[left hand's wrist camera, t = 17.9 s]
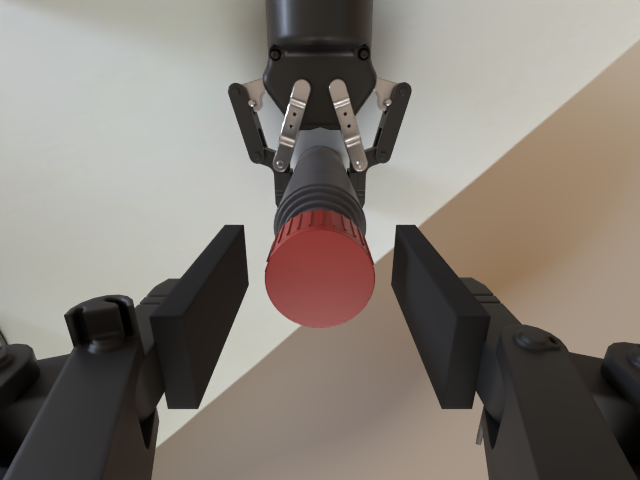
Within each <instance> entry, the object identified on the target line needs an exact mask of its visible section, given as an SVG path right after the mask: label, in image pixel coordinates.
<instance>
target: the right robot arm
mask: <svg viewBox="0 0 640 480" xmlns="http://www.w3.org/2000/svg"><path fill="white" fill-rule="evenodd" d="M372 11H373V0H266V17H267V36H268V64H267V67H266V70H265V72H264V74H263V78H262V79H259V80H255V81H252V82H249V83H245V84H238V83H233V84H231V85H230V86H229V88H228V94H229V97H230V100H231V103H232V106H233V109H234V112H235V115H236V118H237V121H238V124H239V127H240V130H241V133H242V136H243V139H244V142H245V145H246V148H247V151H248V154H249V157H250V159H251V161H252V162H254V163H256V164H262V165H265V166H268V167H270V168H271V169H272V170H273V172H274V181H275V200H276V205H277V207H279V205H280V202H281V200H282V198H283V195H284V193H285V191H286V188H287V186H288V184H289V181H290V179H291V177H292V174H293V168H291V169H290V161H291V158H292V155H293V151H294V148H295V145H296V142H297V139H298V136H299V132H300V130H312V129H315V128H319V127H322V128H325V129H329V130H340V132H341V135H342V138H343V141H344V144H345V147H346V150H347V153H348V156H349V159H350V168H347V175H348V177H349V179H350V182H351V184H352V186H353V189H354V191H355V193H356V196H357V198H358V200H359V203H360V205H361V207H362V208H363V205H364V203H365V180H366V172H367V170H368V169H369V168H370V167H371V166H374V165H376V164H379V163H386V162H388V161H389V159H390V157H391V154H392V151H393V148H394V145H395V142H396V139H397V135H398V132H399V129H400V126H401V123H402V120H403V117H404V114H405V111H406V108H407V104H408V101H409V98H410V95H411V86H410V85H409V84H408V83H405V82H403V83H394V82H391V81H387V80H384V79H380V78H377V76H376V72H375V70H374V68H373V65H372V62H371V35H372ZM372 91H373V92H375V93H376V95H377V98H378V100H377V106H378V108H379V109H380V110H382V111H383V113H382V117H381V120H380V123H379V127H378V130H377V133H376V137H375V140H374V143H373V147H371V148H369V149H366V150H364V148H363V145H362V141H361V136H360V133H359V129H358V126H357V123H356V119H355V115H356V114H357V113H358V111H359V110H360V108H361V107H362V106H363V104H364V103H365V101H366V100H367V98H368V97H369V96H370V94H371V93H372ZM266 92H267V93H268V94H269V95H270V97H271V98H272V99H273V101H274V102H275V104H276V105H277V106H278V108H279V109H280V111H281V112H282V113H283V115H284V116H285V120H284V123H283V127H282V130H281V134H280V137H279V143H278V146H277V150H276V151H275V150H273V149H270V148H268V146H267V143H266V140H265V137H264V134H263V131H262V127H261V124H260V121H259V118H258V115H257V111H259V110H261V108H262V106H263V102H262V97H263V95H264V94H265V93H266Z"/></svg>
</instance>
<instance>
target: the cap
mask: <svg viewBox="0 0 640 480" xmlns="http://www.w3.org/2000/svg"><path fill="white" fill-rule="evenodd" d="M267 262H268V264H267V266H266V269H265V285H266V290H267V293H268V296H269V298H270V300H271V302H272V303H273V305H274V306H275V307H276V309H277V310H278V311H279V312H280V313H281V314H282V315H284V316H285V317H287V318H288V319H290V320H291V321H293V322H295V323H298V324H300V325H304V326H308V327H316V328H325V327H332V326H336V325H339V324H342V323H344V322H347V321H348V320H350V319H352V318H353V317H355V316H356V315H357V314H358V313H360V312H361V311H362V310H363V308H364V307H365V306H366V305H367V303H368V301H369V300H370V298H371V295H372V293H373V289H374V284H375V273H374V267H373V265H374V262H373V259H372V257H371V253H370V250H369V248H368V245H367V242H366V239H365V236H364V235H363V236H362V234H361V231H360V228H359V227H357V226H356V225H355V224H354V223H353V221H352V220H349V219H348V218H346V217H345V216H344V215H343V214H338V213H335V212H334V211H332V210H331V211H327V210H323V209H321V210H313V211H312V210H310V211H308V212H305V213H299V215H297V216H295V217H294V218H290V221H288V222H287V223H286V224H285V225H284V224H283V225H282V229H281V230H280V232H279V233H278V232H277V234H276V237H275V240H274V241H273V244H272V247H271V250H270V253H269V256H268V258H267Z"/></svg>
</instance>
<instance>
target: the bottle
mask: <svg viewBox="0 0 640 480" xmlns="http://www.w3.org/2000/svg"><path fill="white" fill-rule="evenodd" d="M321 209H323V210H327V211H331V210H332V211H334V212H335V213H338V214H343V215H344V216H345V217H346V218H348V219H349V220H352V221H353V223H354V224H355V225H356V226H357V227H359V228H360V231H361V234H362V236H363V235H364V236H365V234H366V219H365V215H364V212H363V210H362V207H361V205H360V203H359V200H358V198H357V196H356V193H355V191H354V189H353V186H352V184H351V182H350V179H349V177H348V175H347V172H346V170H345V168H344V165H343V163H342V161H341V158H340V157H339V155H338V154H337V153H336V152H335V151H334V150H332V149H330V148H328V147H324V146H316V147H312V148H310V149H308V150H306V151H305V152H304V153H303V154H302V155H301V157H300V158H299V160H298V163H297V165H296V167H295V170H294V172H293V174H292V177H291V179H290V181H289V184H288V186H287V188H286V191H285V193H284V195H283V198H282V200H281V202H280V205H279V207H278V209H277V212H276V215H275V219H274V234H275V237H276V234H277V232H278V233H279V232H280V230H281V229H282V225H283V224H284V225H285V224H286V223H287V222H288V221H290V218H294V217H295V216H297V215H299V213H305V212H308V211H310V210H312V211H313V210H321Z"/></svg>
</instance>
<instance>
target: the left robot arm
mask: <svg viewBox="0 0 640 480" xmlns="http://www.w3.org/2000/svg"><path fill="white" fill-rule="evenodd" d="M248 285H249V282H248V270H247V258H246V246H245V234H244V225H225V226H224V227H223V228H222V229H221V230H220V232H219V233H218V234H217V235H216V236H215V238H214V239H213V240H212V241H211V242H210V244H209V245H208V246H207V247H206V248H205V250H204V251H203V252H202V253H201V254H200V256H199V257H198V258H197V259H196V260H195V262H194V263H193V264H192V265H191V266H190V268H189V269H188V270H187V271H186V273H185V274H184V275H183V276H182V277H181V279H167V280H166V281H164V282H162V283H160V284H159V285H157V286H155V287H154V288H153V289H152V290H151V292H150V293H149V294H148V295H147V297H145V298H144V299H143V300H142V301H141V302H140V305H137V306H136V308H134V304H133V300H132V299H131V298H129V297H128V296H123V295H106V296H102V297H97V298H93V299H90V300H88V301H85V302H82V303H80V304H78V305H76V306H75V307H73V308H71V309H70V310H69V311H68V312H67V313H66V314H65V315H64V317H65V320H66V323H67V327H68V330H69V333H70V336H71V340H72V343H73V346H74V348H73V350H72V352H71V354H67V355H62V356H57V357H52V358H47V359H42V360H36V357H35V354H34V352H33V349H32V348H31V347H30V346H28V345H25V344H11V345H6V343H5V341H4V339H3V338H2V336H1V335H0V480H151V476H152V469H153V462H154V455H155V447H156V440H157V433H158V425H159V417H158V412H157V407H156V406H157V404H158V402H159V401H160V399H161V397H162V395H163V393H164V392H165V396H166V401H167V406H168V409H198V408H199V405H200V403H201V401H202V398H203V396H204V393H205V391H206V388H207V386H208V383H209V381H210V378H211V376H212V374H213V371H214V369H215V366H216V364H217V361H218V359H219V356H220V354H221V352H222V349H223V347H224V344H225V342H226V339H227V337H228V334H229V332H230V330H231V327H232V325H233V322H234V320H235V317H236V315H237V312H238V310H239V308H240V305H241V303H242V300H243V298H244V295H245V293H246V290H247V288H248ZM391 285H392V288H393V290H394V293H395V295H396V298H397V300H398V303H399V305H400V307H401V310H402V312H403V315H404V317H405V320H406V322H407V325H408V327H409V330H410V332H411V334H412V337H413V339H414V342H415V344H416V347H417V349H418V352H419V354H420V356H421V359H422V361H423V364H424V366H425V369H426V371H427V374H428V376H429V378H430V381H431V383H432V386H433V388H434V391H435V393H436V396H437V398H438V400H439V403H440V405H441V408H442V409H472V406H473V401H474V396H475V392H477V393H478V395H479V397H480V399H481V401H482V402H483V404H484V407H483V412H482V416H481V421H480V425H479V430H478V434H477V440H476V444H478V445H481V442H482V438H483V439H484V446H485V454H486V461H487V468H488V476H489V480H640V344H633V343H627V342H620V343H613V344H612V345H610V346H609V347H608V349H607V352H606V354H605V357H604V359H601V358H596V357H591V356H586V355H581V354H576V353H571V352H569V351H568V349H567V348H566V346H565V345H564V344H563V343H562V341H561V340H560V339H558V338H557V337H555V336H554V335H552V334H551V333H549V332H546V331H544V330H542V329H539V328H537V327H532V326H529V325H522V324H521V323H520V322H519V321H518V320H517V319H516V318H515V317H514V316H513V314H512V313H511V312H510V311H509V310H508V309H507V308H506V307H505V306H504V305H503V304H502V303H500V301H499V300H498V299H497V297H496V296H493V293H492V292H491V291H490V290H489V289H488V288H487V287H486V286H485V285H484V284H482V283H480V282H478V281H476V280H475V279H473V278H459V277H458V276H457V275H456V274H455V273H454V271H453V270H452V269H451V268H450V266H449V265H448V264H447V263H446V262H445V260H444V259H443V258H442V257H441V256H440V254H439V253H438V252H437V251H436V250H435V248H434V247H433V246H432V245H431V244H430V242H429V241H428V240H427V239H426V238H425V236H424V235H423V234H422V233H421V232H420V230H419V229H418V228H417V227H416V226H415V225H396V234H395V246H394V258H393V270H392V282H391Z"/></svg>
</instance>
